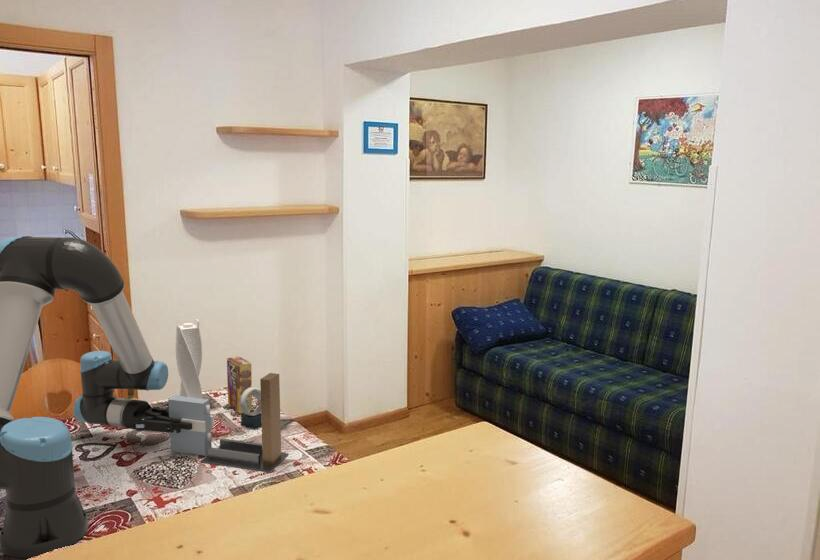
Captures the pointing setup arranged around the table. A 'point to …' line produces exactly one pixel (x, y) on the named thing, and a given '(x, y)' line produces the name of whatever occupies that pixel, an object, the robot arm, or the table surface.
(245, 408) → the watch
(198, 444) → the door panel
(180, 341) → the skyscraper
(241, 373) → the candy box
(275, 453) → the base
